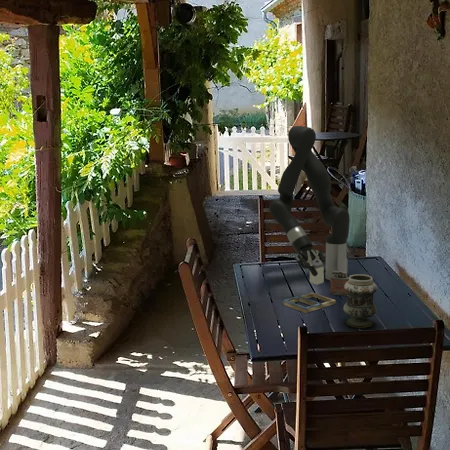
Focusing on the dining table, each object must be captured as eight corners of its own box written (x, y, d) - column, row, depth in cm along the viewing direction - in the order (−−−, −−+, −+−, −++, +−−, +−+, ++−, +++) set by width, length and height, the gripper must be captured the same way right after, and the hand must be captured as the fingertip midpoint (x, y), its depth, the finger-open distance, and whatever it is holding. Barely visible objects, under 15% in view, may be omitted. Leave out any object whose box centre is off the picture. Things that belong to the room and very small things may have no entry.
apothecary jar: (371, 316, 241) (372, 272, 238) (379, 328, 230) (381, 281, 226) (339, 317, 241) (341, 272, 237) (347, 329, 229) (348, 282, 225)
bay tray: (312, 295, 267) (312, 291, 266) (335, 303, 257) (335, 299, 256) (283, 304, 257) (283, 300, 256) (305, 313, 247) (305, 308, 246)
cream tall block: (316, 280, 260) (316, 261, 258) (323, 282, 257) (323, 263, 255) (309, 282, 258) (309, 263, 256) (316, 284, 255) (316, 265, 253)
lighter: (349, 293, 269) (349, 271, 267) (348, 295, 266) (348, 273, 264) (330, 291, 272) (330, 269, 269) (329, 294, 268) (329, 271, 266)
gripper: (291, 237, 255) (312, 272, 248) (315, 231, 263) (337, 265, 256) (282, 247, 260) (303, 282, 253) (307, 241, 269) (327, 275, 262)
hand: (320, 273), depth 255 cm, fingers closed on cream tall block, 4 cm apart
